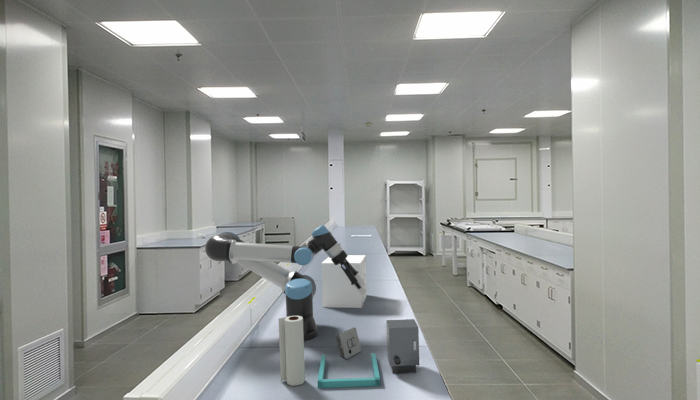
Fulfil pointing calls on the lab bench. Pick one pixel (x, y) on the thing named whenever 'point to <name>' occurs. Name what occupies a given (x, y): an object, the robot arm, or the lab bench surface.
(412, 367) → the control unit
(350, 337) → the electrical switch
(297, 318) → the paper towel roll
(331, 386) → the teal bay
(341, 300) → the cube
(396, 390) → the lab bench surface
